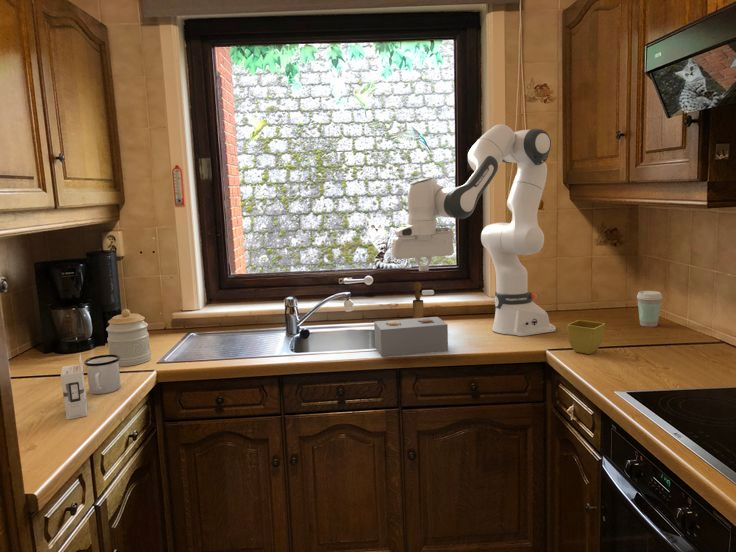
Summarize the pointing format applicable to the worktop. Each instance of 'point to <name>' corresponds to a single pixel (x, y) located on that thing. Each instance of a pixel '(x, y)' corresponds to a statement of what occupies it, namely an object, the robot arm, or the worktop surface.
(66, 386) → the ink box
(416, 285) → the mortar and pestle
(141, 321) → the jar
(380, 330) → the socket block
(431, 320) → the walnut dowel
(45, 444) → the worktop surface
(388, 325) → the beech dowel
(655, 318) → the coffee cup
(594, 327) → the flower pot
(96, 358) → the mug
